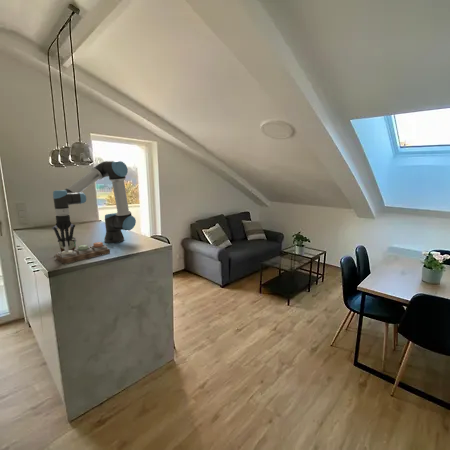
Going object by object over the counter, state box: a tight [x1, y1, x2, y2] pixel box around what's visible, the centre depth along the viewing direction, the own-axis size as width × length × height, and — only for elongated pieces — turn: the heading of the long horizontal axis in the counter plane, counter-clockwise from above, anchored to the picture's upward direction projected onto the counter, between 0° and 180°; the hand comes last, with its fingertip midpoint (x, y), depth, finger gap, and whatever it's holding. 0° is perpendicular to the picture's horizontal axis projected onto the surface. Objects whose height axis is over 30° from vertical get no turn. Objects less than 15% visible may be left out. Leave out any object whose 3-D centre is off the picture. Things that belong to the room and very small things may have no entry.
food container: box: [57, 236, 77, 252], centre depth 188 cm, size 12×6×10 cm, turn 92°
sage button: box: [77, 244, 89, 251], centre depth 178 cm, size 6×6×2 cm
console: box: [55, 244, 111, 265], centre depth 178 cm, size 29×14×5 cm, turn 139°
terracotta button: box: [92, 241, 104, 248], centre depth 185 cm, size 6×6×2 cm
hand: (66, 251), depth 170 cm, fingers closed
